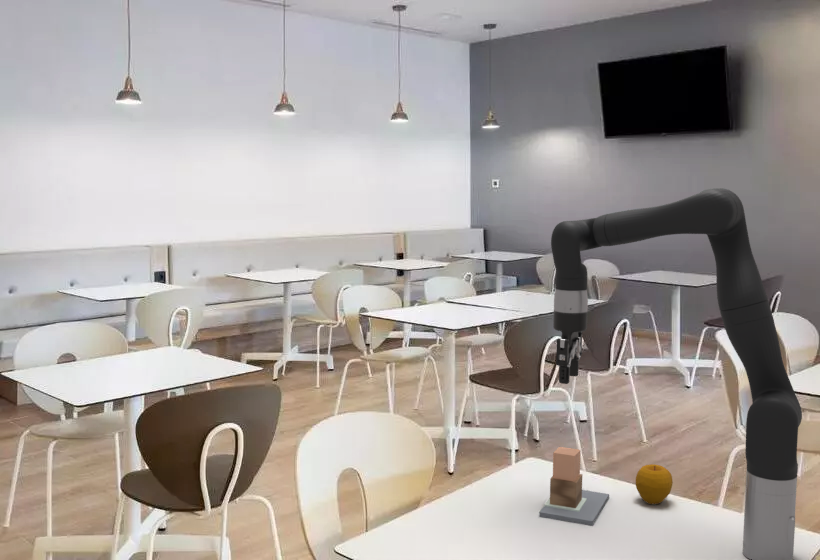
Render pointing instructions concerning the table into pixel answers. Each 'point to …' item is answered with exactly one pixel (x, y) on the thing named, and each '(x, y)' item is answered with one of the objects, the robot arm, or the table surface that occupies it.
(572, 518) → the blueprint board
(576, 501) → the walnut block
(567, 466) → the terracotta block
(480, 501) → the table surface
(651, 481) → the apple
